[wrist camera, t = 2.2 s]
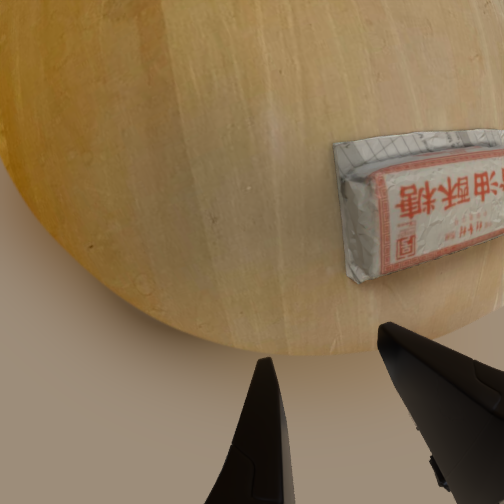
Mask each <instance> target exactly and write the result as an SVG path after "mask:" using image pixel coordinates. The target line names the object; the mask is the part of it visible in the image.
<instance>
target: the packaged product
mask: <svg viewBox="0 0 504 504" xmlns="http://www.w3.org/2000/svg"><path fill="white" fill-rule="evenodd" d="M333 152H334V160H335V168H336V176H337V185H338V194H339V203H340V211H341V220H342V230H343V240H344V251H345V263H346V275H347V276H348V277H349V278H351V279H352V280H353V281H355V282H356V283H357V284H360V283H362V282H364V281H365V280H372V279H375V278H378V277H380V276H385V275H389V274H391V273H394V272H398V271H401V270H404V269H407V268H411V267H413V266H417V265H420V264H422V263H426V262H429V261H431V260H436V259H439V258H441V257H443V256H446V255H450V254H453V253H456V252H459V251H461V250H464V249H467V248H469V247H471V246H475V245H479V244H482V243H485V242H487V241H490V240H493V239H495V238H498V237H500V236H502V235H504V130H492V129H476V130H463V131H448V132H413V133H409V134H403V135H390V136H379V137H373V138H368V139H363V140H358V141H351V142H340V143H333Z"/></svg>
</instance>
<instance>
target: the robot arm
mask: <svg viewBox="0 0 504 504" xmlns="http://www.w3.org/2000/svg"><path fill="white" fill-rule="evenodd" d="M377 346H378V350H379V352H380V354H381V357H382V359H383V361H384V363H385V365H386V368H387V370H388V373H389V375H390V377H391V380H392V382H393V384H394V386H395V388H396V390H397V391H398V393H399V395H400V397H401V398H402V400H403V402H404V404H405V405H406V407H407V409H408V411H409V413H410V414H411V416H412V418H413V420H414V422H415V423H416V425H417V427H416V429H417V430H419V431H420V432H421V434H422V436H423V438H424V440H425V442H426V443H427V445H428V447H429V449H430V451H431V452H432V456H430V458H431V459H430V461H429V462H430V464H431V466H432V468H433V470H434V472H435V476H436V479H437V482H438V485H439V486H440V487H444V488H445V489H446V490H447V491H448V492H450V491H451V492H452V494H453V496H454V498H455V500H456V503H457V504H504V371H501V370H498V369H495V368H492V367H490V366H488V365H486V364H483V363H481V362H479V361H477V360H473V359H472V358H470V357H468V356H465V355H463V354H461V353H459V352H457V351H454V350H452V349H450V348H448V347H445V346H443V345H441V344H439V343H437V342H434V341H432V340H430V339H428V338H426V337H424V336H421V335H419V334H417V333H415V332H413V331H410V330H408V329H406V328H404V327H402V326H399V325H397V324H395V323H393V322H387V323H384V324H381V325H380V326H379V328H378V340H377ZM204 504H295V495H294V486H293V476H292V466H291V456H290V447H289V438H288V429H287V421H286V416H285V411H284V407H283V402H282V397H281V393H280V388H279V384H278V379H277V376H276V372H275V369H274V365H273V362H272V358H271V357H266V358H262V359H259V360H258V361H257V364H256V367H255V371H254V374H253V377H252V380H251V384H250V387H249V390H248V393H247V397H246V400H245V403H244V406H243V409H242V412H241V415H240V419H239V422H238V425H237V428H236V431H235V434H234V437H233V440H232V445H231V446H230V449H229V452H228V455H227V457H226V460H225V463H224V465H223V468H222V470H221V472H220V474H219V477H218V479H217V481H216V483H215V485H214V487H213V488H212V490H211V492H210V494H209V496H208V498H207V500H206V501H205V503H204Z"/></svg>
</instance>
